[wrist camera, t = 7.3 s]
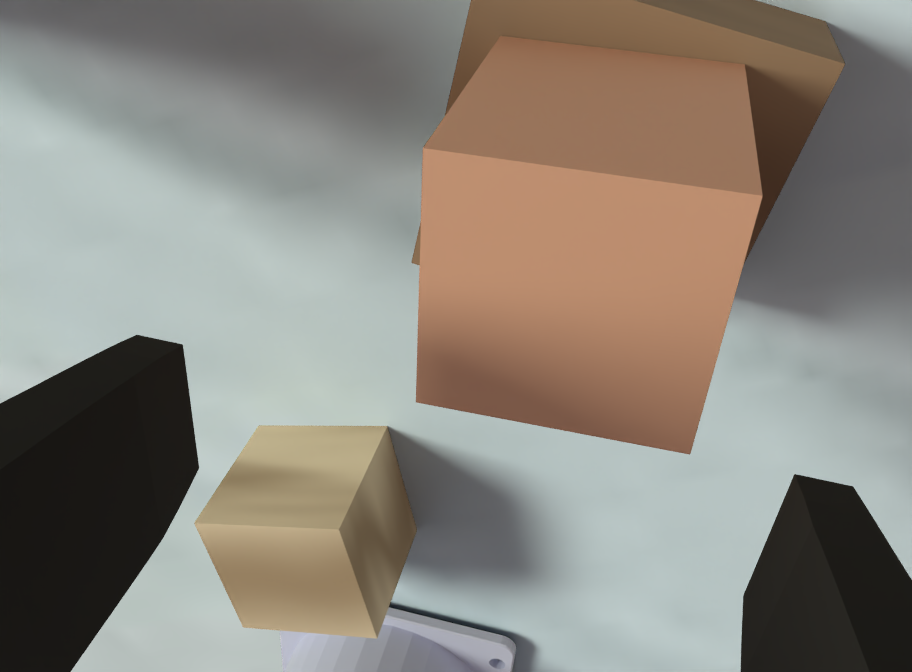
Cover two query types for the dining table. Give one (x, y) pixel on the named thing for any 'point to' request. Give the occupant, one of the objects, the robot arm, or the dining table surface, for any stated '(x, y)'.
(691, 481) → the dining table surface
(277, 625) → the maple block
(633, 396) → the terracotta block
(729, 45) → the walnut block
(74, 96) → the dining table surface
